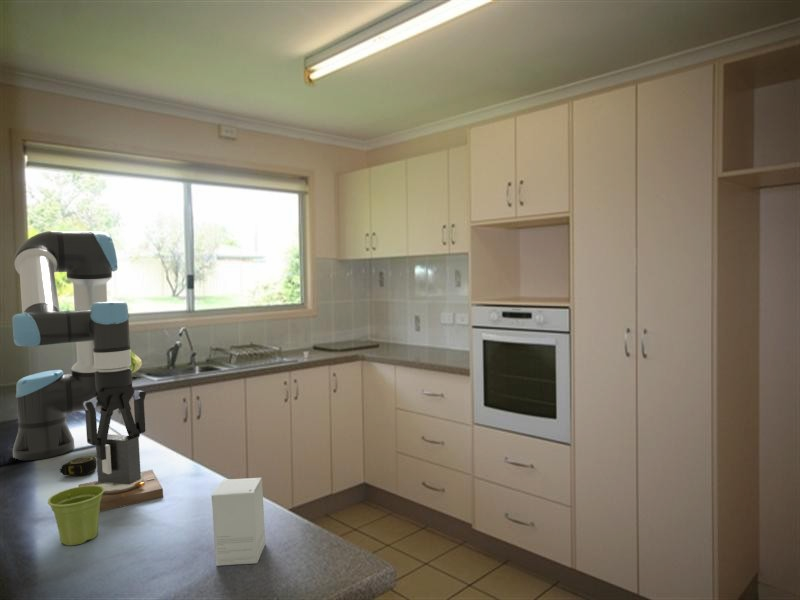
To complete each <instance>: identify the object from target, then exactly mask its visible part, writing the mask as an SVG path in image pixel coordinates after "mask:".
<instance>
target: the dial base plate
mask: <svg viewBox="0 0 800 600" xmlns="http://www.w3.org/2000/svg"><path fill="white" fill-rule="evenodd" d="M141 474H143V478H144V482H145V485H143V486H142V487H136V488H134V489H132V490H129V491H125V492H121V493H114V494H102V499H101V501H100V509H99V511H101V512H104V511H103V510H105V511H108V510H107V509H109V510H112V508H114V509H117V508H116V507H118V508H121V507H120V506H122V507H125V506H124V505H127V506H130V504H131V505H134V504H138V503H143V502H147V501H152V500H156V499H159V498H160V499H161V498H164V489H163V485H161V483H160V481H159V479H158V477H157V476H156V473H155V472H154V470H153V469H148V470H144V471H143V470H142V471H141ZM97 481H98V480H95V481H89V482H85V483H80V484H77V485H78V486H77V487H80V486H88V485H95V483H96V482H97Z"/></svg>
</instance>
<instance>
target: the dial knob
mask: <svg viewBox="0 0 800 600" xmlns="http://www.w3.org/2000/svg"><path fill="white" fill-rule="evenodd" d="M139 438H140V436H129V435H124V434H123V435H122V434H110V433H108V436H107V442H106V444H109V445H110V455H111V472H112V473H111V474H106V473H104V472H103V470H102V460H99V459H98V455H97V446H96V445H95V451H96V454H95V455H96V462H97V467H96V469H97V480H96V481H97V482H96V483H95V486H101V487H103V488H104V493H103V494H114V493H121V492H125V491H129V490H132V489H134V488H136V487H142V486H143V485H145V482H144V478H143V474H141V472H142V471H141V458H140V454H141V453H140V441H139V440H140V439H139Z"/></svg>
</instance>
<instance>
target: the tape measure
mask: <svg viewBox="0 0 800 600" xmlns="http://www.w3.org/2000/svg"><path fill="white" fill-rule="evenodd" d="M96 469H97V457H96V456H92V455H89V456H88V455H87V456H81V457H79V458H74V459H73V460H70V461H68V462H65V463H64V464H62V465H61V468H59V472H60V474H61V475H63V476H74V477H75V476H81V475H88V474H89V473H92V472H93V471H95V470H96ZM87 473H88V474H87Z"/></svg>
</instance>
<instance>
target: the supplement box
mask: <svg viewBox="0 0 800 600" xmlns="http://www.w3.org/2000/svg"><path fill="white" fill-rule="evenodd" d="M263 491H264V490H263V479H262V477H251V478H229V479H228V478H227V479H223V480H221V482H220V483H219V485H218V486H217V488H216V489H215V490H214V491H213V493H212V494H211V504H212V521H213V538H214V541H213V542H214V552H215V555H214V556H215V565H216V566H217V567H218V566H231V565H233V566H234V565H248V564H249V565H250V564H258V563H259V559H260V558H261V555H262V553H263V550H264V548H265V546H266V533H265V532H266V530H265V528H266V527H265V511H264V494H263V493H264V492H263Z"/></svg>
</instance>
